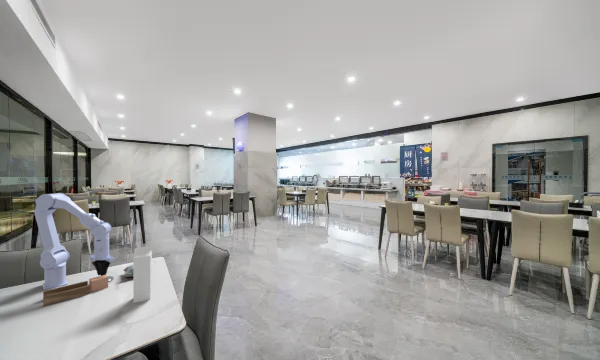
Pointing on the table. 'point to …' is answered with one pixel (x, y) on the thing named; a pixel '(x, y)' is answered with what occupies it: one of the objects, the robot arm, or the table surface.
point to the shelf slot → (65, 293)
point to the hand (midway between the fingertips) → (102, 274)
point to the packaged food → (128, 271)
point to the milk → (142, 274)
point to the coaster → (110, 278)
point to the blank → (98, 283)
